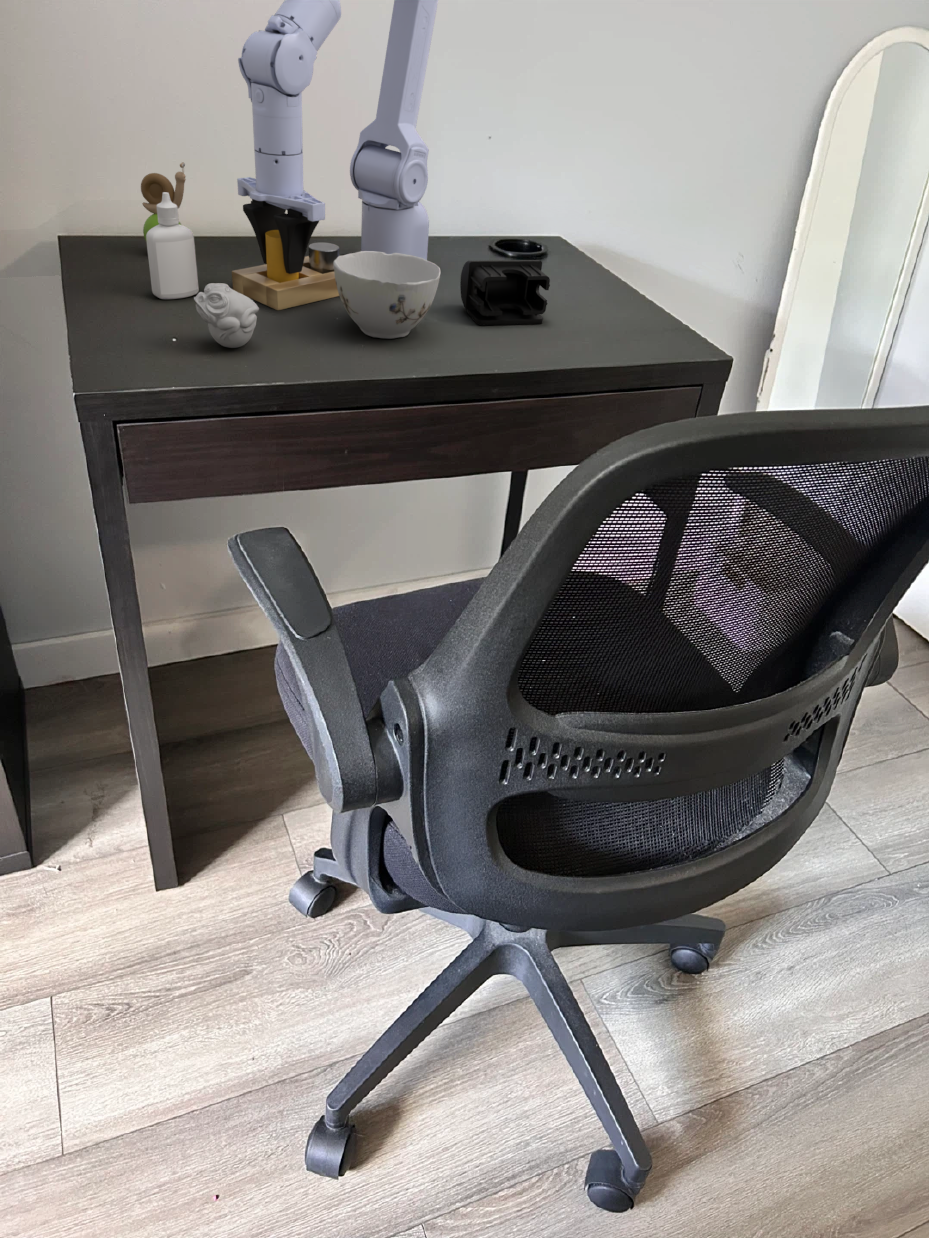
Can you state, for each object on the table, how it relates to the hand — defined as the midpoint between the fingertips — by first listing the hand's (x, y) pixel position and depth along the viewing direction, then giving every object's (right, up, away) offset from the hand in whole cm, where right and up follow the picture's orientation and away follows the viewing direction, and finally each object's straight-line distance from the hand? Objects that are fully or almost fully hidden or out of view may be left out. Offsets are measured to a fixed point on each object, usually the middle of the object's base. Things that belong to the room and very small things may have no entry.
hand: (282, 267), depth 118 cm
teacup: (+13, -9, -5) cm, 17 cm away
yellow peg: (0, -3, +2) cm, 3 cm away
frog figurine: (-3, -14, -14) cm, 20 cm away
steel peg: (+4, 0, +6) cm, 8 cm away
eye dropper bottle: (-13, -4, -2) cm, 14 cm away
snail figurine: (-18, +6, +12) cm, 22 cm away
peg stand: (+2, -1, +4) cm, 5 cm away
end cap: (+28, -5, +3) cm, 29 cm away
